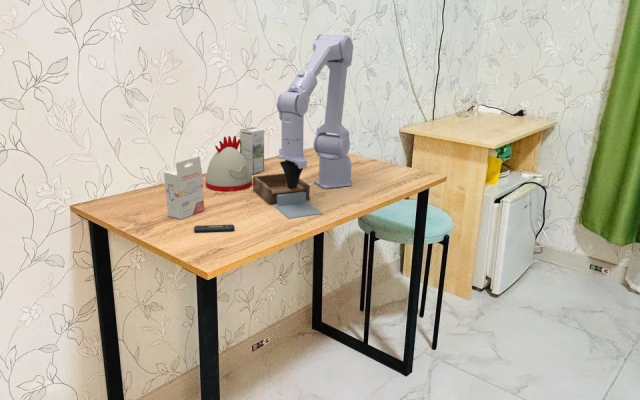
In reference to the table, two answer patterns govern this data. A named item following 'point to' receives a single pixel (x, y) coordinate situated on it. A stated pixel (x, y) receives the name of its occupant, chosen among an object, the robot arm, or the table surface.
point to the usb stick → (214, 228)
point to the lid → (295, 205)
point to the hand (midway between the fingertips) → (292, 187)
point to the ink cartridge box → (184, 189)
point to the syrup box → (253, 148)
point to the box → (276, 187)
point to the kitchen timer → (228, 168)
